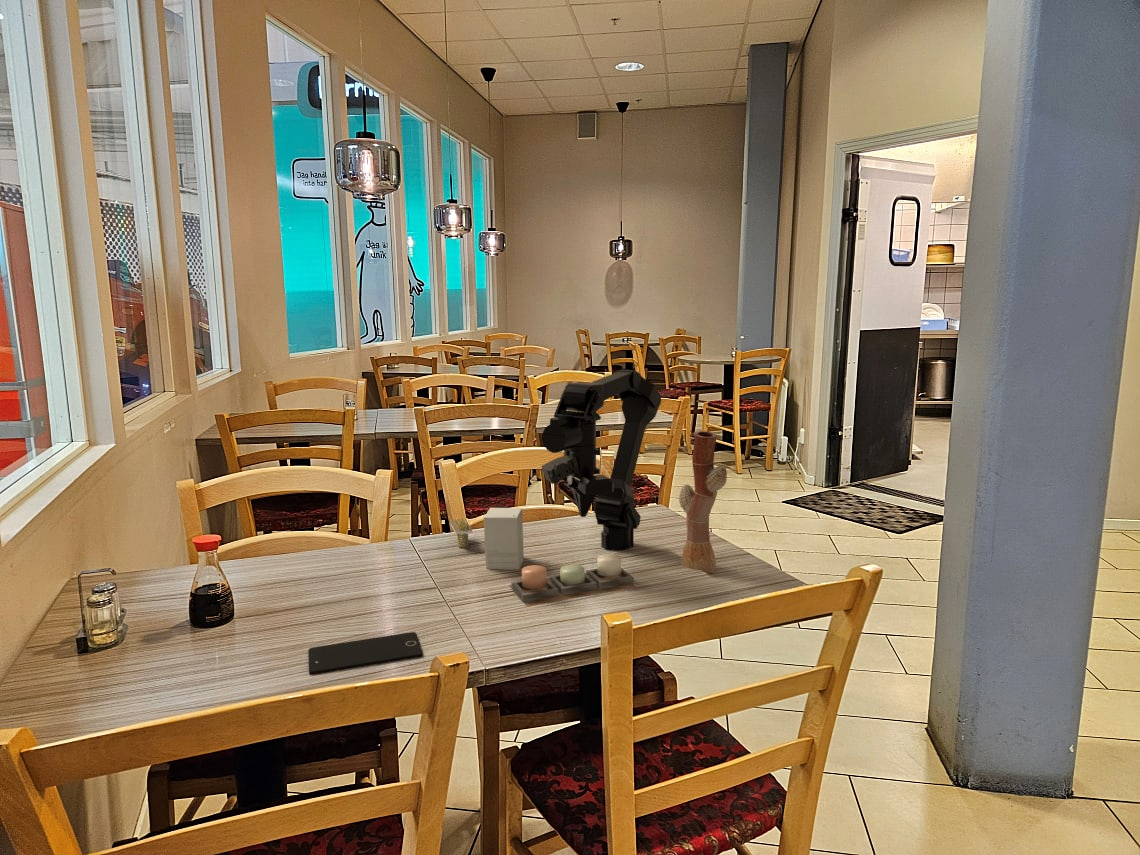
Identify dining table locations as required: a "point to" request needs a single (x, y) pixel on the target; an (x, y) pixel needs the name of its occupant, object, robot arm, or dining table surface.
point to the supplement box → (503, 538)
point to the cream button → (609, 565)
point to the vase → (701, 503)
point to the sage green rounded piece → (572, 575)
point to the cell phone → (363, 653)
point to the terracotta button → (534, 577)
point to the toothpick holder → (462, 531)
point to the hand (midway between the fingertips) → (582, 516)
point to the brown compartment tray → (572, 588)
